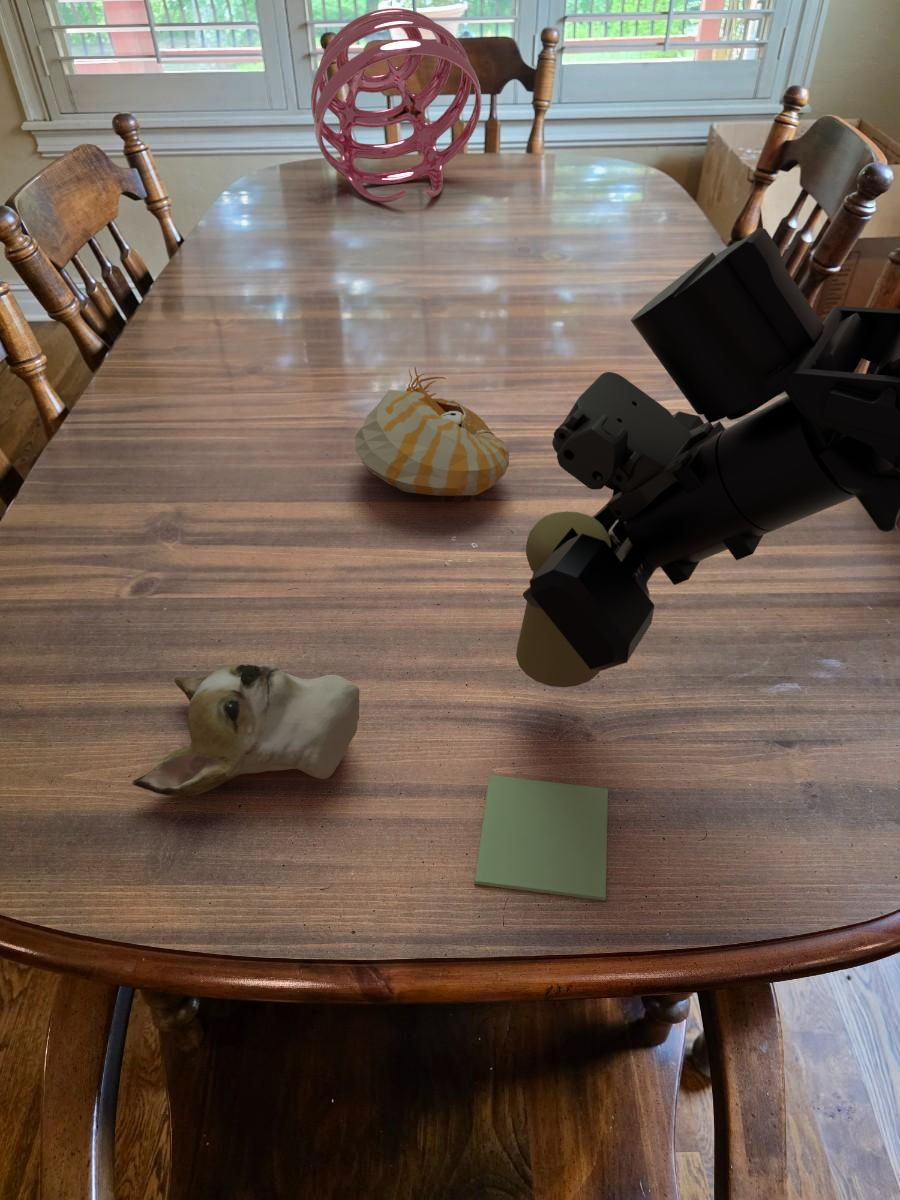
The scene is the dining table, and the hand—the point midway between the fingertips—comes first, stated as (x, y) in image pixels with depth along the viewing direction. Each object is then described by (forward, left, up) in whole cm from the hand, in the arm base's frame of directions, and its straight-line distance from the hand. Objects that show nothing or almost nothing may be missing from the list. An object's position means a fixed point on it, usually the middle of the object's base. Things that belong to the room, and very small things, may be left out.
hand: (546, 575), depth 56 cm
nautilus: (+13, -31, -13) cm, 36 cm away
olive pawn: (-1, +1, -7) cm, 7 cm away
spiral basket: (+33, -116, -13) cm, 121 cm away
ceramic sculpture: (+19, +7, -13) cm, 24 cm away
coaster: (-1, +11, -13) cm, 17 cm away
